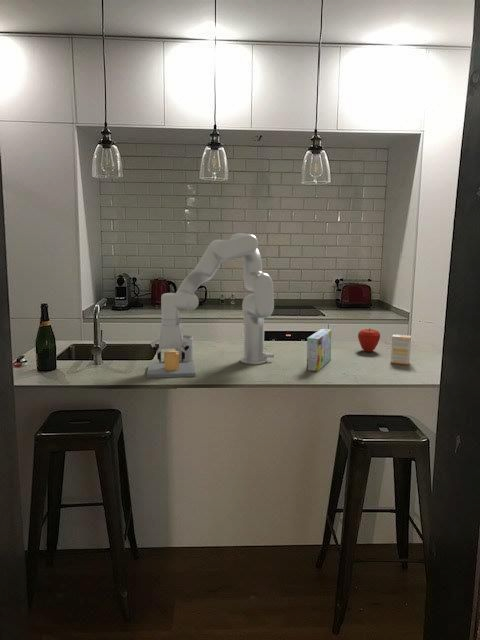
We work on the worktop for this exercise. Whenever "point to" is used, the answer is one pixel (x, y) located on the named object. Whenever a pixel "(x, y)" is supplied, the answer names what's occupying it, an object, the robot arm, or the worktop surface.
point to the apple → (368, 339)
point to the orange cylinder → (171, 360)
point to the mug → (188, 352)
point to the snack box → (318, 349)
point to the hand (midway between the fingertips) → (171, 360)
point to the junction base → (159, 371)
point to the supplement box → (400, 349)
